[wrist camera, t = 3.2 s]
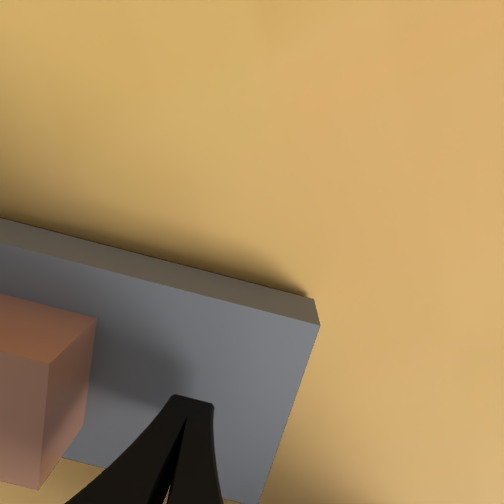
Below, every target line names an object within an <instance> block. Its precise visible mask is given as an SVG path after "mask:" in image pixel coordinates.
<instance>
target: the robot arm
mask: <svg viewBox="0 0 504 504" xmlns="http://www.w3.org/2000/svg"><path fill="white" fill-rule="evenodd" d="M214 408H215V407H214V406H213V404H212V403H208V402H205V401H201V400H197V399H193V398H189V397H185V396H181V395H177V394H174V395H172V396H171V397H170V398H169V400H168V401H167V403H166V404H165V406H164V407H163V408H162V410H161V411H160V412H159V413H158V415H157V416H156V417H155V418H154V419H153V421H152V422H151V423H150V424H149V425H148V426H147V428H146V429H145V430H144V431H143V432H142V433H141V434H140V435H139V436H138V437H137V439H136V440H135V441H134V442H133V443H132V444H131V445H130V446H129V447H128V448H127V449H126V450H125V451H124V452H123V453H122V454H121V455H120V456H119V457H118V458H117V459H116V460H115V461H114V462H113V463H112V464H111V465H110V466H108V467H107V468H106V469H105V470H104V471H103V472H102V473H101V474H100V475H99V476H97V477H96V478H95V479H94V480H93V481H92V482H91V483H89V484H88V485H87V486H86V487H85V488H83V489H82V490H81V491H80V492H79V493H78V494H76V495H75V496H74V497H72V498H71V499H70V500H69V501H67V502H66V503H65V504H163V502H164V499H165V497H166V494H167V492H168V489H169V486H170V490H169V495H168V499H167V504H223V500H222V495H221V489H220V484H219V478H218V471H217V464H216V456H215V447H214V431H213V418H214ZM170 484H171V485H170Z"/></svg>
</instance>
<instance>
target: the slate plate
mask: <svg viewBox="0 0 504 504" xmlns="http://www.w3.org/2000/svg"><path fill="white" fill-rule="evenodd" d="M0 293H1V294H4V295H8V296H12V297H16V298H20V299H24V300H28V301H32V302H36V303H39V304H43V305H47V306H51V307H55V308H59V309H63V310H67V311H71V312H74V313H78V314H82V315H86V316H90V317H94V318H97V322H96V330H95V338H94V345H93V353H92V361H91V368H90V376H89V384H88V391H87V399H86V407H85V414H84V422H83V427H82V428H81V429H80V431H79V432H78V434H77V435H76V437H75V438H74V439H73V441H72V442H71V444H70V445H69V447H68V448H67V450H66V451H65V452H64V454H63V455H62V458H66V459H70V460H74V461H77V462H81V463H85V464H89V465H93V466H97V467H101V468H105V469H106V468H107V467H108V466H110V465H111V464H112V463H113V462H114V461H115V460H116V459H117V458H118V457H119V456H120V455H121V454H122V453H123V452H124V451H125V450H126V449H127V448H128V447H129V446H130V445H131V444H132V443H133V442H134V441H135V440H136V439H137V437H138V436H139V435H140V434H141V433H142V432H143V431H144V430H145V429H146V428H147V426H148V425H149V424H150V423H151V422H152V421H153V419H154V418H155V417H156V416H157V415H158V413H159V412H160V411H161V410H162V408H163V407H164V406H165V404H166V403H167V401H168V400H169V398H170V397H171V396H172V395H174V394H177V395H181V396H185V397H189V398H193V399H197V400H201V401H205V402H208V403H212V404H213V406H214V407H215V408H214V418H213V431H214V447H215V456H216V464H217V471H218V478H219V484H220V489H221V495H222V498H224V499H228V500H232V501H235V502H239V503H243V504H258V503H259V500H260V497H261V495H262V492H263V489H264V486H265V483H266V480H267V477H268V475H269V472H270V469H271V466H272V463H273V460H274V457H275V454H276V452H277V449H278V446H279V443H280V440H281V437H282V434H283V432H284V429H285V426H286V423H287V420H288V417H289V414H290V411H291V409H292V406H293V403H294V400H295V397H296V394H297V391H298V389H299V386H300V383H301V380H302V377H303V374H304V371H305V368H306V366H307V363H308V360H309V357H310V354H311V351H312V348H313V346H314V343H315V340H316V337H317V334H318V331H319V328H320V322H319V318H318V314H317V310H316V306H315V302H314V299H311V298H307V297H303V296H300V295H296V294H292V293H288V292H284V291H280V290H276V289H273V288H269V287H265V286H261V285H257V284H253V283H250V282H246V281H242V280H238V279H234V278H230V277H226V276H223V275H219V274H215V273H211V272H207V271H203V270H199V269H196V268H192V267H188V266H184V265H180V264H176V263H172V262H169V261H165V260H161V259H157V258H153V257H149V256H145V255H142V254H138V253H134V252H130V251H126V250H122V249H118V248H115V247H111V246H107V245H103V244H99V243H95V242H91V241H88V240H84V239H80V238H76V237H72V236H68V235H64V234H61V233H57V232H53V231H49V230H45V229H41V228H37V227H34V226H30V225H26V224H22V223H18V222H14V221H10V220H7V219H3V218H0ZM170 485H171V484H170Z"/></svg>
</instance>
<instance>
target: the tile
mask: <svg viewBox="0 0 504 504" xmlns="http://www.w3.org/2000/svg"><path fill="white" fill-rule="evenodd" d="M96 322H97V318H94V317H90V316H86V315H82V314H78V313H74V312H71V311H67V310H63V309H59V308H55V307H51V306H47V305H43V304H39V303H36V302H32V301H28V300H24V299H20V298H16V297H12V296H8V295H4V294H1V293H0V481H3V482H7V483H11V484H15V485H19V486H23V487H27V488H31V489H35V490H39V488H40V487H41V486H42V484H43V483H44V481H45V480H46V478H47V477H48V476H49V474H50V473H51V471H52V470H53V468H54V467H55V465H56V464H57V463H58V461H59V460H60V458H61V457H62V455H63V454H64V452H65V451H66V450H67V448H68V447H69V445H70V444H71V442H72V441H73V439H74V438H75V437H76V435H77V434H78V432H79V431H80V429H81V428H82V427H83V422H84V414H85V407H86V399H87V391H88V384H89V376H90V368H91V361H92V353H93V345H94V338H95V330H96Z"/></svg>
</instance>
